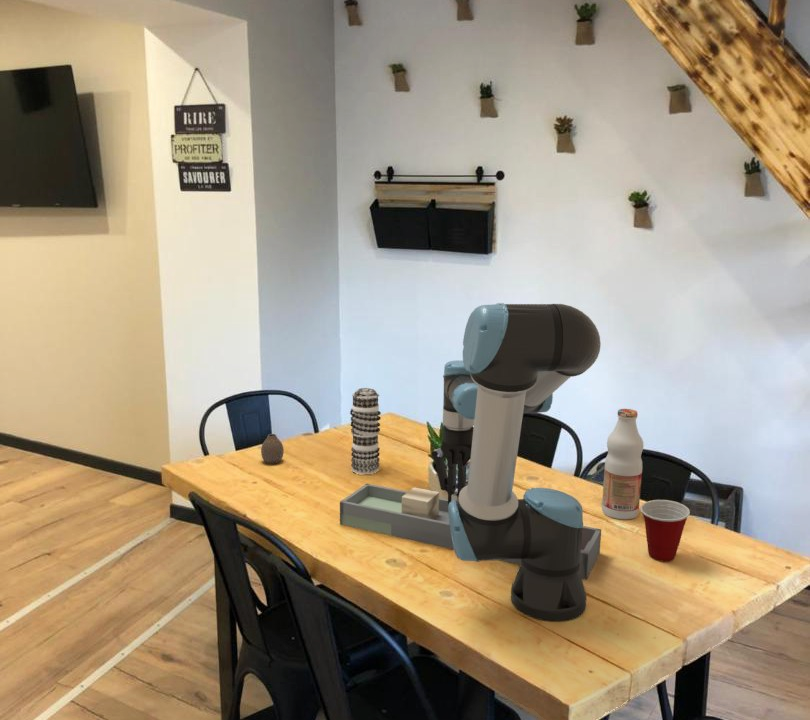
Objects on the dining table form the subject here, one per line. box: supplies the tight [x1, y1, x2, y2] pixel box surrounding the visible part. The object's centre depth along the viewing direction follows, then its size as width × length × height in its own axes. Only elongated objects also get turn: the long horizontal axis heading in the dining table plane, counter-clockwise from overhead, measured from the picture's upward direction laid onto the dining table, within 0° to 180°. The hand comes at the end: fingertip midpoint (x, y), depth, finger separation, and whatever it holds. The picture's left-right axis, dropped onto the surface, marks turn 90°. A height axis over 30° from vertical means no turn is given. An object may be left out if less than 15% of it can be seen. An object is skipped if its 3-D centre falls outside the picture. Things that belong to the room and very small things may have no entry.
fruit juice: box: [601, 408, 644, 520], centre depth 195 cm, size 9×9×28 cm
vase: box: [260, 433, 285, 465], centre depth 232 cm, size 7×7×9 cm
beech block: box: [401, 487, 440, 520], centre depth 186 cm, size 7×7×6 cm
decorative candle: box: [349, 387, 382, 475], centre depth 225 cm, size 9×9×25 cm
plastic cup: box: [639, 499, 691, 562], centre depth 173 cm, size 11×11×12 cm
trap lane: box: [339, 483, 602, 580], centre depth 182 cm, size 14×62×6 cm, turn 64°
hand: (455, 518), depth 182 cm, fingers closed
